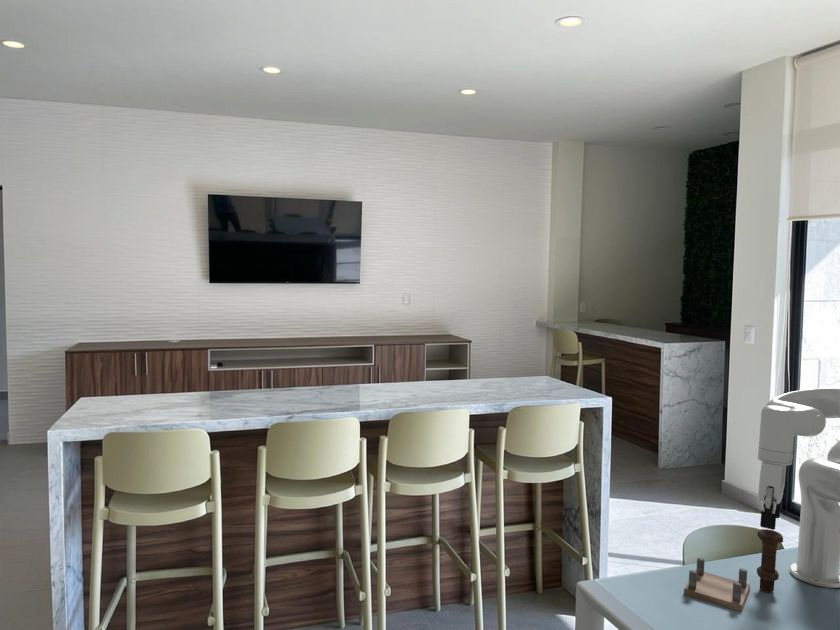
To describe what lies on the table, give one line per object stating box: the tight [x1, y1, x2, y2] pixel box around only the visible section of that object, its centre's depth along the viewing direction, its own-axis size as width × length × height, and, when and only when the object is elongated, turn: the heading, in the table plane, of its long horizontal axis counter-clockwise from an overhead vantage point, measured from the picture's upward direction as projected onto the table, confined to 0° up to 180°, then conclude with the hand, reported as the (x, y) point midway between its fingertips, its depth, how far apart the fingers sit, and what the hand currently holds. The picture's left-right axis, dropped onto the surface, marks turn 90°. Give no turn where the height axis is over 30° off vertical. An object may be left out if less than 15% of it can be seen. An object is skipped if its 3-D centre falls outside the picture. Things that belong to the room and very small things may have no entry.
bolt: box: [756, 528, 784, 593], centre depth 161 cm, size 6×5×15 cm
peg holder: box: [683, 557, 751, 612], centre depth 159 cm, size 13×13×6 cm
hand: (770, 522), depth 160 cm, fingers open, 9 cm apart
